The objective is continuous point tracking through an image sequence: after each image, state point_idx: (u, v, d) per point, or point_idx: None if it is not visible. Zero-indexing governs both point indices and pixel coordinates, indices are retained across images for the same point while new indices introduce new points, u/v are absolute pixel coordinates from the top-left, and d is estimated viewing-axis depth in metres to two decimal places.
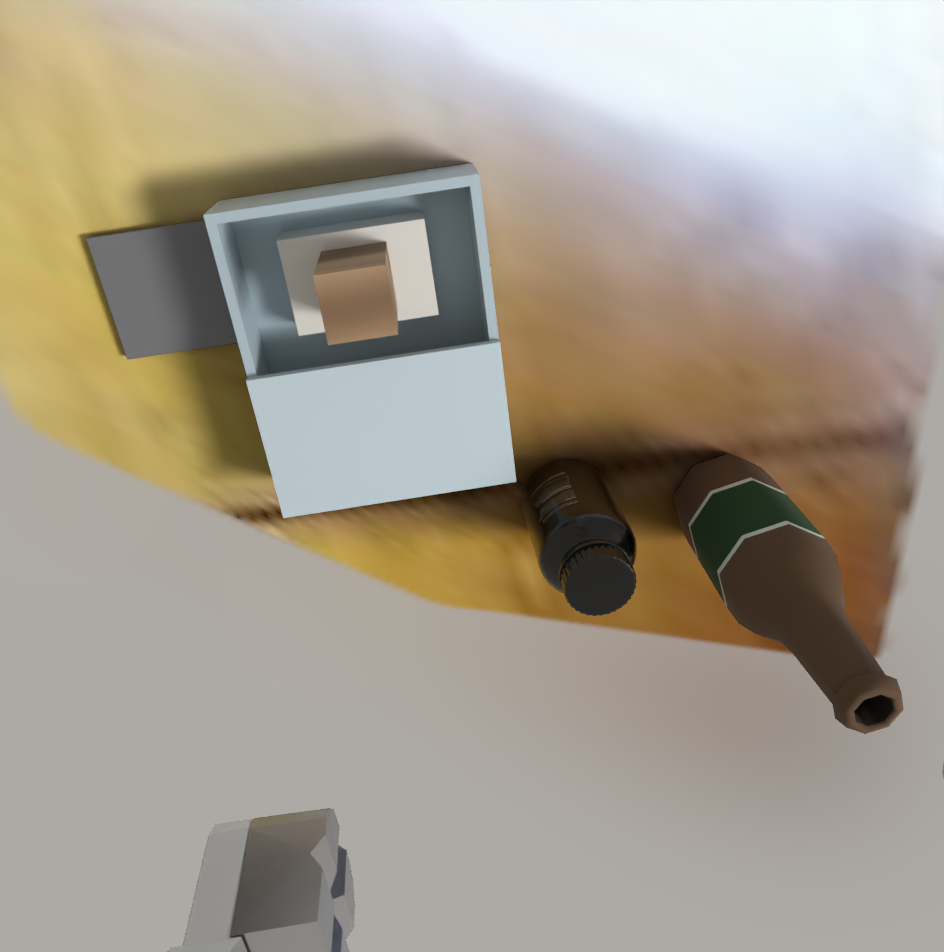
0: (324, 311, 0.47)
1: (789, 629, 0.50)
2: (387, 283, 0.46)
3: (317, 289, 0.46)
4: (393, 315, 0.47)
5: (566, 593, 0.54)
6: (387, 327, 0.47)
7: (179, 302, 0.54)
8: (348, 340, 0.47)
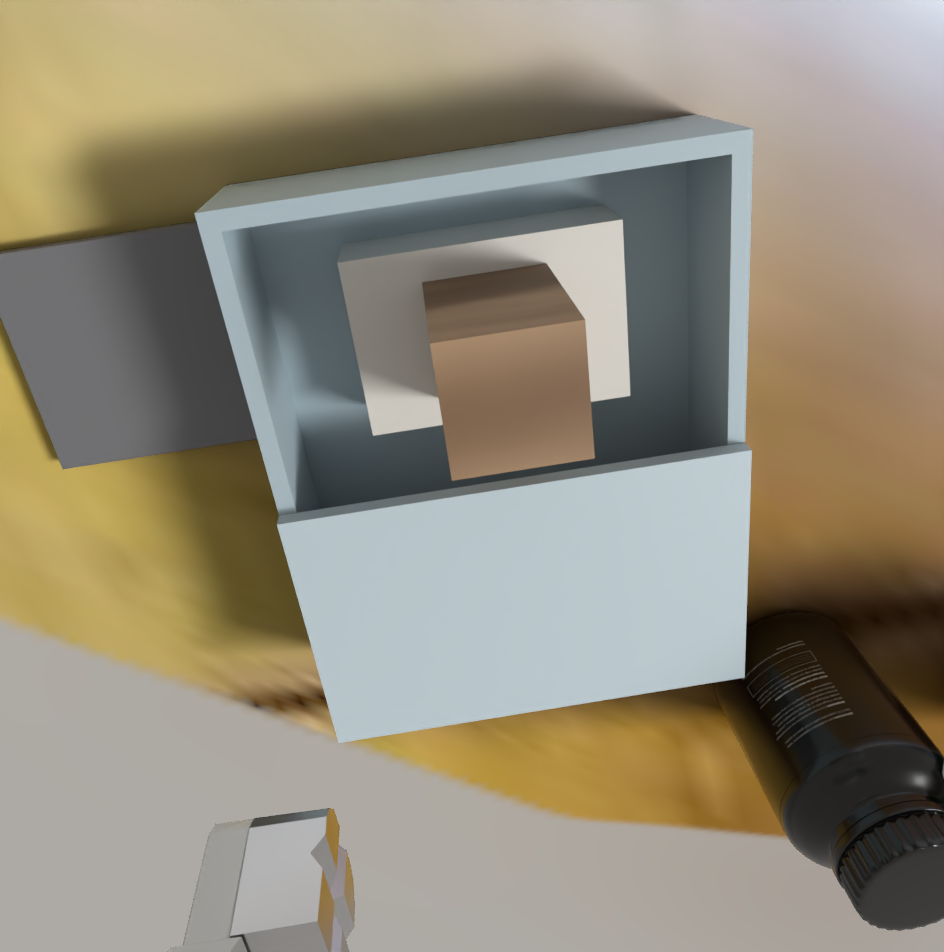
0: (449, 415, 0.22)
1: None
2: (585, 358, 0.22)
3: (437, 371, 0.22)
4: (590, 421, 0.23)
5: (859, 901, 0.30)
6: (575, 445, 0.23)
7: (153, 371, 0.30)
8: (493, 471, 0.23)
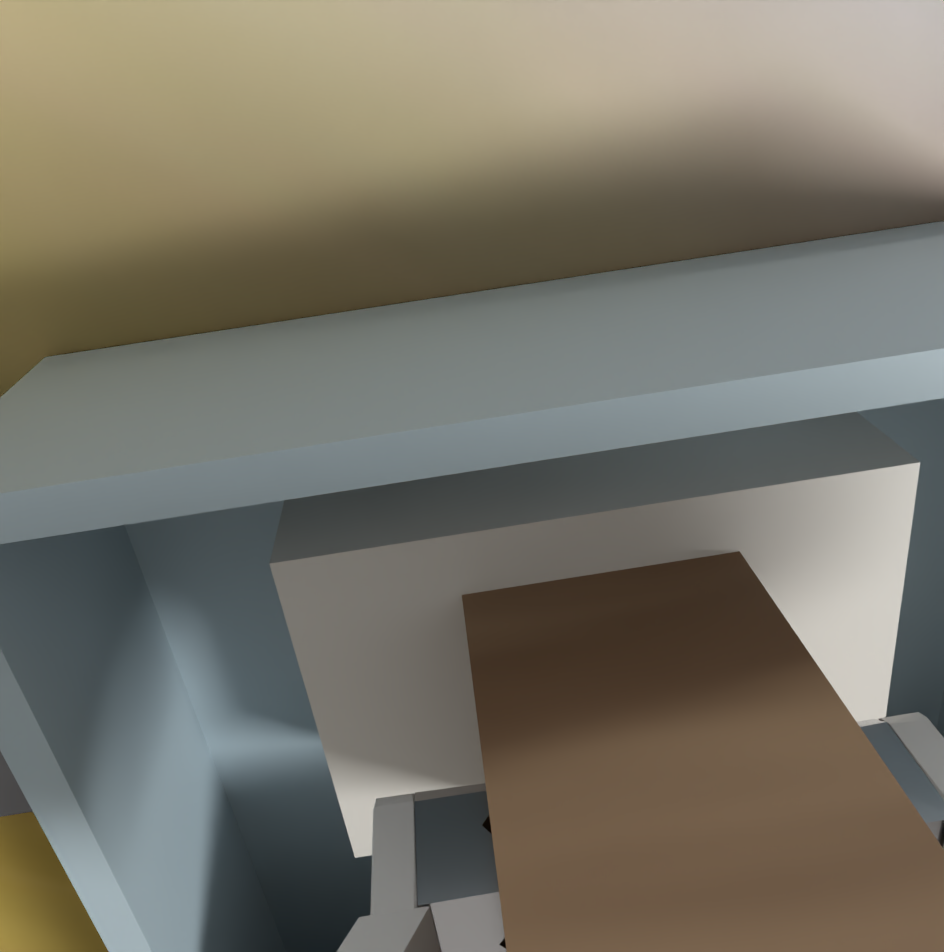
0: None
1: None
2: None
3: None
4: None
5: None
6: None
7: None
8: None
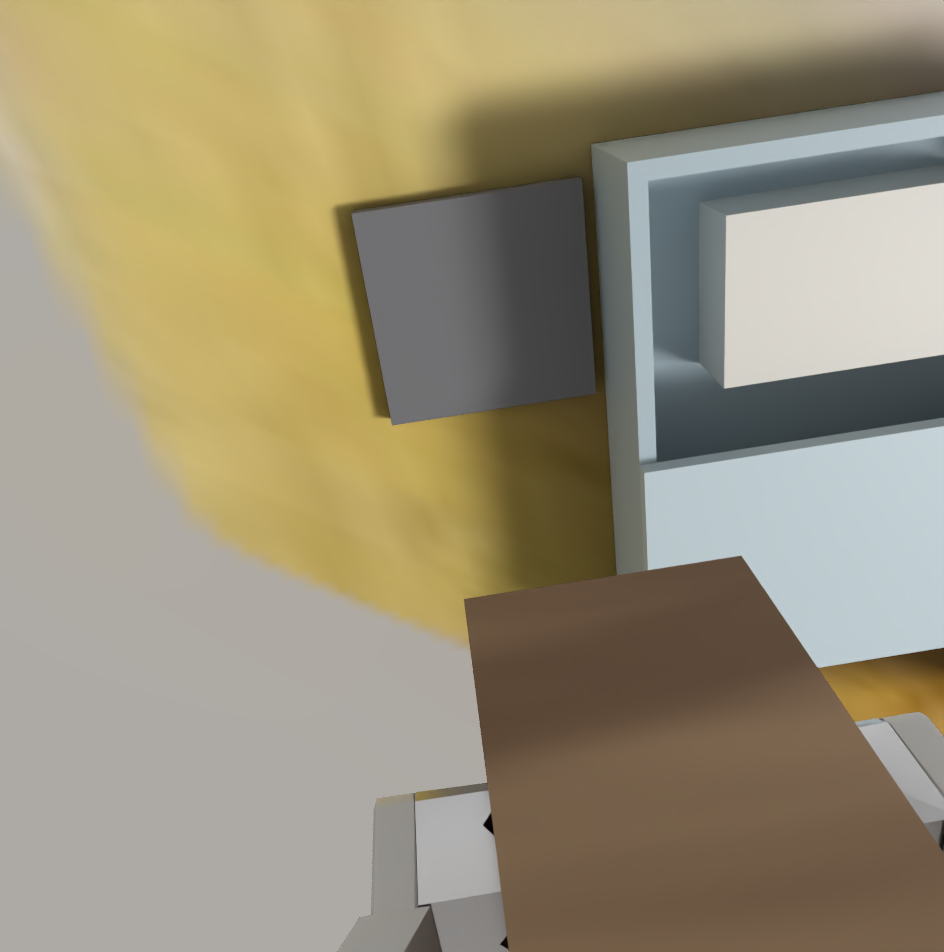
0: None
1: None
2: None
3: None
4: None
5: None
6: None
7: (496, 327, 0.31)
8: None
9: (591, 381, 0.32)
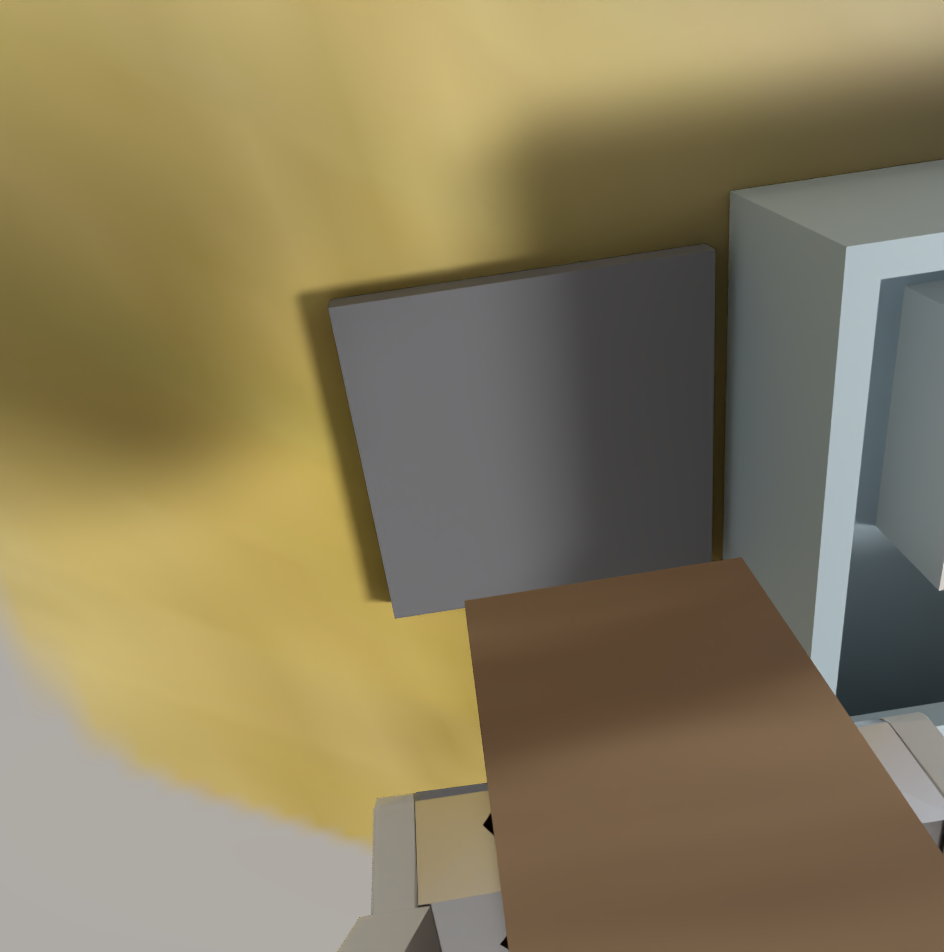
0: None
1: None
2: None
3: None
4: None
5: None
6: None
7: (561, 478, 0.19)
8: None
9: (705, 552, 0.21)
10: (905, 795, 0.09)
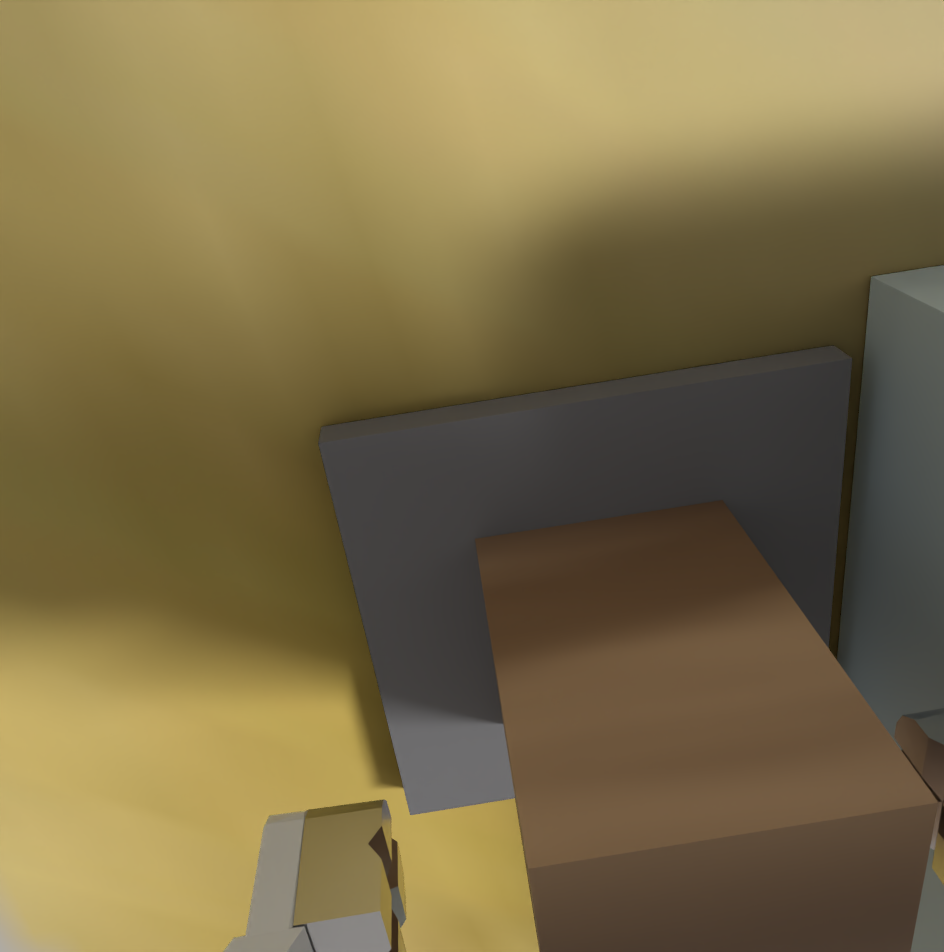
0: None
1: None
2: (918, 873, 0.09)
3: (544, 918, 0.08)
4: None
5: None
6: None
7: None
8: None
9: None
10: None
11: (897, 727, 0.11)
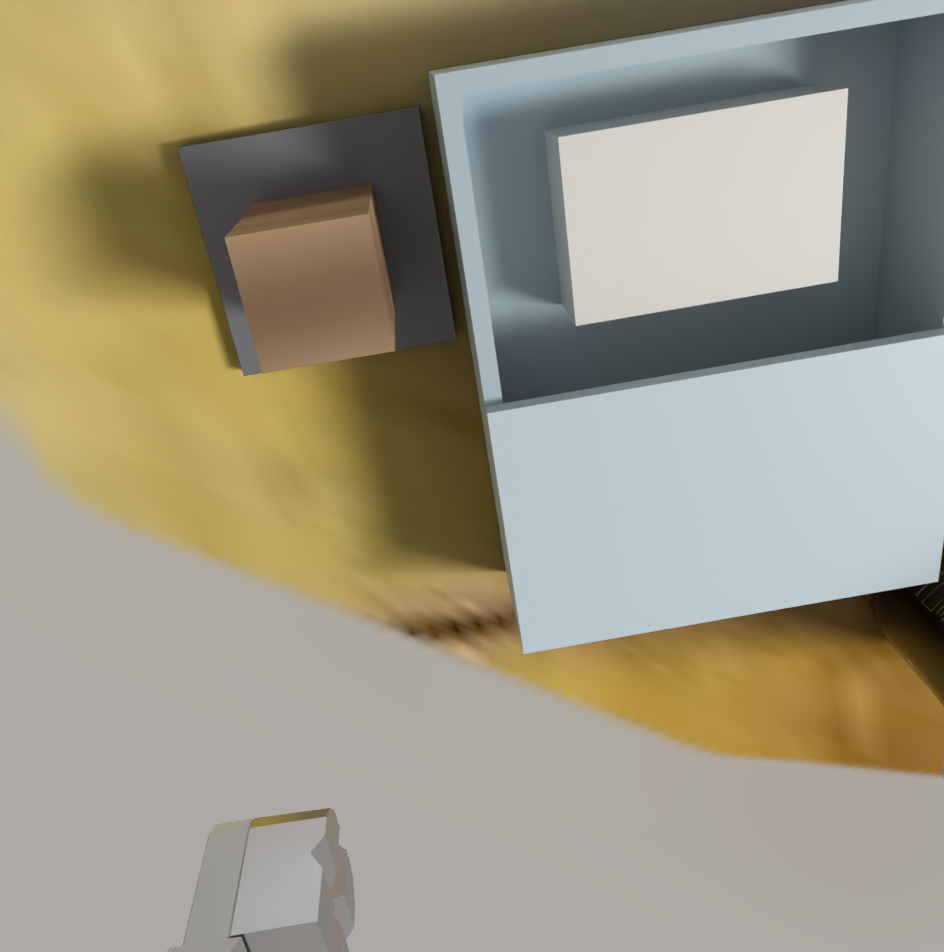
0: (251, 308, 0.24)
1: None
2: (372, 251, 0.24)
3: (235, 265, 0.23)
4: (385, 314, 0.24)
5: None
6: (374, 337, 0.25)
7: None
8: (300, 363, 0.25)
9: (450, 326, 0.31)
10: None
11: None
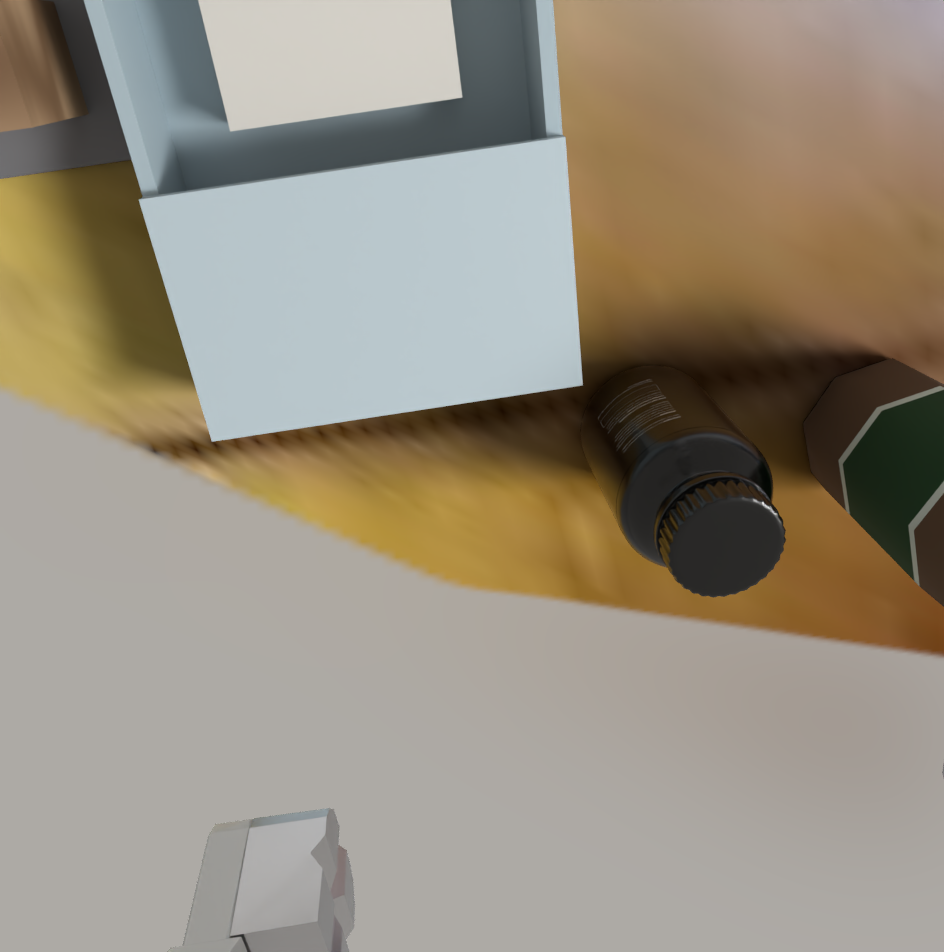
0: None
1: None
2: None
3: None
4: (18, 91, 0.28)
5: (671, 559, 0.33)
6: (12, 113, 0.28)
7: None
8: None
9: None
10: None
11: None
